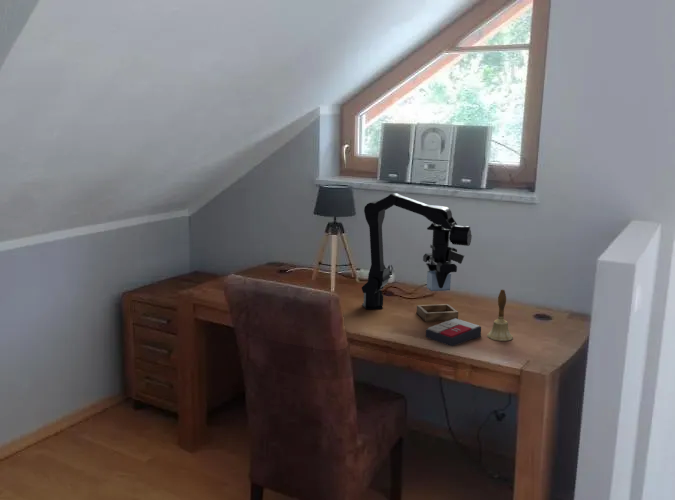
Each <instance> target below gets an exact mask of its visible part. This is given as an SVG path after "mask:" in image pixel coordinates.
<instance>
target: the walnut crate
mask: <svg viewBox="0 0 675 500" xmlns="http://www.w3.org/2000/svg"><path fill="white" fill-rule="evenodd" d="M416 314H417V315H418V316H419V317H420V318H421V319H422V320H423V321H424V322H425V323H427V322H429V323H430V322H445V321H450V320H452V319H455V318H456V319H459V311H458V310H456V309H455V308H454V307H453V306H452V305H450V304H449V303H440V304H437V303H436V304H418V305H416Z"/></svg>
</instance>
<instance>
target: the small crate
mask: <svg viewBox="0 0 675 500" xmlns="http://www.w3.org/2000/svg"><path fill="white" fill-rule="evenodd" d="M426 274H427V275H426V288H427V289H428V290H429V291H431V292H443V291H444V292H445V291H451V283H452V282H451V281H452V280H451V279H452V274H451V272H450V273H449V274H448V275H447V277H446V280H445V283H444V285H443V288H439V285H438V282H437V278H436V274H435V271H429V270H427V272H426Z"/></svg>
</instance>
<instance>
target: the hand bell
mask: <svg viewBox="0 0 675 500" xmlns="http://www.w3.org/2000/svg"><path fill="white" fill-rule="evenodd" d="M497 303H498V304H497V305H498V315H497V317H498V318H497V319H495V320H493V324H492V328H491V329H490V331H489V332H487V334H486V336H487V338H488V339H490V340H493V341H497V342H499V341H500V342H508V341H512V340H513V339H514V336H513V334H511V332H510V329H509V322H508V321H507V320H505V318H504V317H505V306H506V303H507V295H506V291H505V289H500V292H499V294H498V297H497Z"/></svg>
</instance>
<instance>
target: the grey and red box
mask: <svg viewBox="0 0 675 500" xmlns="http://www.w3.org/2000/svg"><path fill="white" fill-rule="evenodd" d="M481 336H482V326H480V325H479V324H474V323H472V322H469V321H465V320H462V319H459V318H458V319H456V318H455V319H452V320H450V321H442V322H441V323H438V324H434V325H431V326H429V327H428V328H426V329H425V338H426V339H430V340H433V341H436V342H438V343H441V344H444V345H447V346H450V347H453V346H454V347H455V346H457V345H460V344H463V343H465V342H468V341H471V340H475V339H478V338H482V337H481Z"/></svg>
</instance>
